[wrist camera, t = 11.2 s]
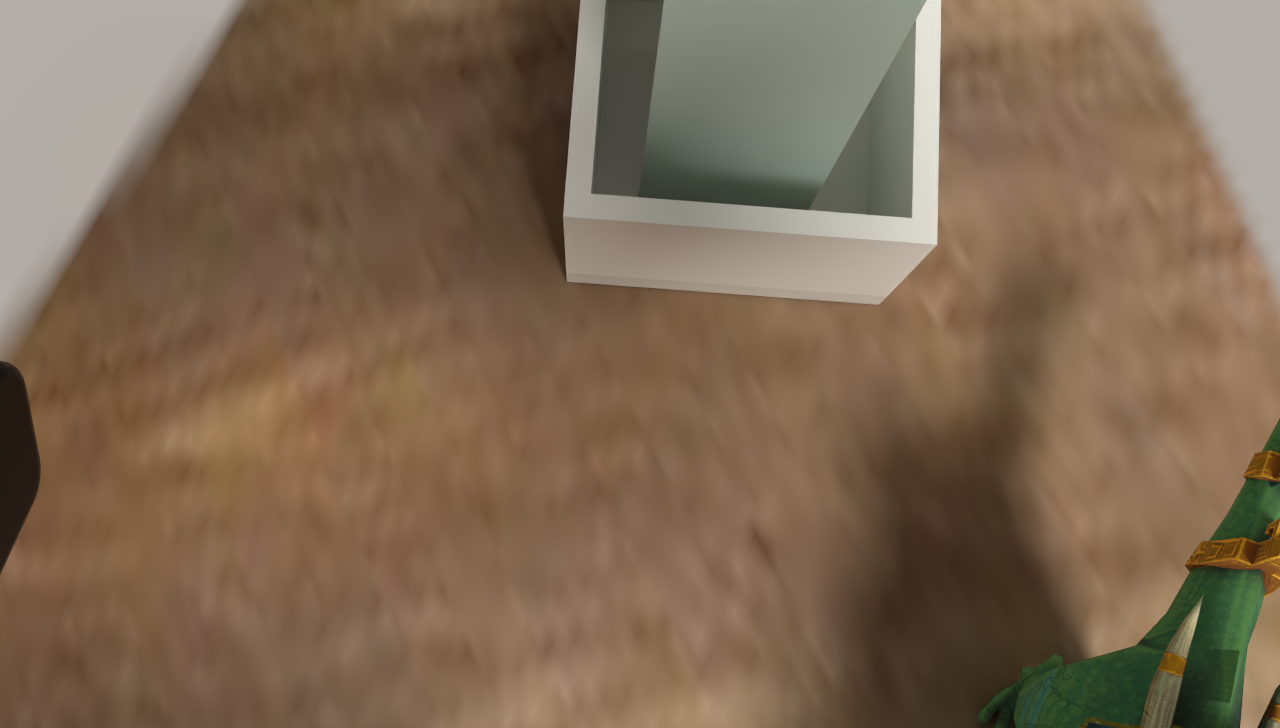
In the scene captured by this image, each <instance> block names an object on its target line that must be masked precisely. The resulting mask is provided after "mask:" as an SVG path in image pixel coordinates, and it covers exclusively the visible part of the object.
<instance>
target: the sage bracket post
mask: <svg viewBox="0 0 1280 728" xmlns="http://www.w3.org/2000/svg"><path fill="white" fill-rule="evenodd" d="M926 1H927V0H664V5H663V12H662V20H661V28H660V35H659V43H658V51H657V58H656V66H655V74H654V82H653V89H652V97H651V105H650V112H649V120H648V128H647V135H646V143H645V151H644V158H643V166H642V174H641V181H640V189H639V197H642V198H655V199H668V200H681V201H694V202H707V203H720V204H734V205H747V206H760V207H773V208H786V209H799V210H809V209H810V207H811V205H812V203H813V201H814V200H815V198H816V196H817V194H818V193H819V191H820V189H821V187H822V186H823V184H824V182H825V180H826V178H827V177H828V175H829V173H830V171H831V170H832V168H833V166H834V164H835V162H836V161H837V159H838V157H839V155H840V154H841V152H842V150H843V148H844V146H845V145H846V143H847V141H848V139H849V138H850V136H851V134H852V132H853V130H854V129H855V127H856V125H857V123H858V122H859V120H860V118H861V116H862V114H863V113H864V111H865V109H866V107H867V106H868V104H869V102H870V100H871V98H872V97H873V95H874V93H875V91H876V90H877V88H878V86H879V84H880V82H881V81H882V79H883V77H884V75H885V74H886V72H887V70H888V68H889V67H890V65H891V63H892V61H893V59H894V58H895V56H896V54H897V52H898V51H899V49H900V47H901V45H902V43H903V42H904V40H905V38H906V36H907V35H908V33H909V31H910V29H911V27H912V26H913V24H914V22H915V20H916V19H917V17H918V15H919V13H920V11H921V10H922V8H923V6H924V4H925V3H926Z"/></svg>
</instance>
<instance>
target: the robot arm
mask: <svg viewBox="0 0 1280 728" xmlns="http://www.w3.org/2000/svg"><path fill="white" fill-rule="evenodd" d="M40 468H41V466H40V458H39V452H38V447H37V442H36V437H35V431H34V426H33V421H32V415H31V410H30V405H29V400H28V394H27V389H26V385H25V382H24V378H23V376H22V375H21V373H20V371H19V370H18V369H17V368H16V367H14V366H13V365H11V364H10V363H7V362H3V361H0V574H1V572H2V570H3V568H4V565H5V563H6V561H7V559H8V557H9V555H10V552H11V550H12V548H13V546H14V544H15V542H16V539H17V537H18V535H19V533H20V531H21V529H22V526H23V524H24V522H25V520H26V518H27V516H28V513H29V511H30V509H31V507H32V505H33V502H34V500H35V497H36V494H37V491H38V487H39V482H40Z"/></svg>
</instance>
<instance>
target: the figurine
mask: <svg viewBox="0 0 1280 728" xmlns="http://www.w3.org/2000/svg"><path fill="white" fill-rule="evenodd" d="M1243 477H1244V478H1245V479H1246V482H1245V484H1244V485H1243V487H1242V489H1241V491H1240V493H1239V494H1238V496H1237V498H1236V500H1235V501H1234V503H1233V505H1232V507H1231V509H1230V510H1229V512H1228V514H1227V515H1226V517H1225V518H1224V520H1223V521H1222V523H1221V524H1220V526H1219V527H1218V528H1217V530H1216V531H1215V533H1214V534H1213V536H1212V537H1211V539H1210V540H1209V541H1204V542H1201V543H1200V545H1199V546H1198V547H1197V549H1196V550H1195V552H1194V553H1193V554H1192V556H1191V557H1190V558H1189V560H1188V561H1187V562H1186V564H1185V566H1186V567H1187V569H1188V570H1189V572H1190V573H1189V575H1188V577H1187V578H1186V580H1185V582H1184V583H1183V585H1182V587H1181V589H1180V590H1179V592H1178V594H1177V596H1176V597H1175V599H1174V601H1173V603H1172V604H1171V606H1170V608H1169V610H1168V611H1167V613H1166V614H1165V615H1164V616H1163V617H1162V618H1161V619H1160V620H1159V621H1158V623H1157V624H1156V625H1155V626H1154V627H1153V628H1152V629H1151V630H1150V631H1149V632H1148V633H1147V634H1146V635H1145V636H1144V637H1143V638H1142V640H1141V641H1140V642H1139V643H1138V644H1137V645H1136V646H1133V647H1129V648H1126V649H1122V650H1119V651H1115V652H1112V653H1108V654H1105V655H1101V656H1097V657H1094V658H1090V659H1086V660H1082V661H1079V662H1075V663H1071V664H1067V665H1064V663H1063V657H1060V656H1058V655H1055V654H1054V655H1053V656H1051V657H1050V658H1049V659H1047V660H1046V661H1044V662H1043V663H1041V664H1039V665H1038V666H1036V667H1034V668H1033V669H1032V667H1031V666H1029V667H1022V668H1021V674H1020V677H1021V679H1020V680H1019V681H1017V682H1016V683H1014V684H1013V685H1011V686H1010V687H1009V688H1006V689H1003V690H1001V691H1000V692H998V693H997V694H996V695H995V696H993V697H992V698H991V700H990V701H989V702H988V704H987V705H986V706H985V707H984V708H982V709H981V711H980V712H979V714H978V716H977V718H978V722H979V724H983V723H987V722H989V721H990V719H991V717H992V715H993V714H994V713H995V711H997V710H1000V711H999V715H998V716H997V718H996V720H995V721H994V724H993V728H1008V725H1009V722H1010V721H1011V720H1012V719H1014V726H1013V728H1240V721H1241V708H1242V696H1243V684H1244V671H1245V663H1246V655H1247V647H1248V643H1249V641H1250V638H1251V635H1252V632H1253V630H1254V627H1255V624H1256V621H1257V618H1258V615H1259V612H1260V609H1261V606H1262V602H1263V598H1264V597H1265V596H1267V595H1269V594H1271V593H1273V592H1274V591H1276V590H1277V589H1278V588H1279V587H1280V419H1279V421H1278V423H1277V425H1276V426H1275V428H1274V430H1273V432H1272V434H1271V436H1270V438H1269V439H1268V441H1267V443H1266V445H1265V447H1264V449H1263V451H1262V452H1260V453H1255V455H1254V457H1253V459H1252V461H1251V462H1250V464H1249V466H1248V468H1247V470H1246V472H1245V474H1244V476H1243ZM1258 728H1280V685H1279V686H1278V687H1277V688H1276V690H1275V692H1274V694H1273V696H1272V698H1271V701H1270V703H1269V705H1268V707H1267V709H1266V711H1265V713H1264V715H1263V717H1262V719H1261V721H1260V724H1259V726H1258Z"/></svg>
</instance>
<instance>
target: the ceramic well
mask: <svg viewBox="0 0 1280 728" xmlns="http://www.w3.org/2000/svg"><path fill="white" fill-rule="evenodd" d="M663 5H664V0H580V12H579V25H578V37H577V50H576V62H575V74H574V87H573V99H572V112H571V124H570V137H569V149H568V161H567V174H566V186H565V199H564V211H563V224H564V242H565V259H566V277H567V282H578V283H591V284H605V285H619V286H632V287H646V288H659V289H673V290H686V291H700V292H713V293H727V294H741V295H754V296H768V297H781V298H795V299H808V300H822V301H835V302H849V303H862V304H876V305H879V304H880V303H881V302H882V301H883V300H884V299H885V298H886V297H887V296H888V295H889V294H890V293H891V292H892V291H893V290H894V289H895V288H896V286H897V285H898V284H899V283H900V282H901V281H902V280H903V279H904V278H905V277H906V276H907V275H908V274H909V273H910V272H911V271H912V270H913V269H914V268H915V267H916V266H917V265H918V264H919V263H920V262H921V261H922V260H923V259H924V258H925V257H926V256H927V255H928V254H929V253H930V251H931V250H932V249H933V248H934V247H935V246H936V245H937V221H938V158H939V95H940V31H941V0H927V1H926V3H925V4H924V6H923V8H922V10H921V11H920V13H919V15H918V17H917V19H916V20H915V22H914V24H913V26H912V27H911V29H910V31H909V33H908V35H907V36H906V38H905V40H904V42H903V43H902V45H901V47H900V49H899V51H898V52H897V54H896V56H895V58H894V59H893V61H892V63H891V65H890V67H889V68H888V70H887V72H886V74H885V75H884V77H883V79H882V81H881V82H880V84H879V86H878V88H877V90H876V91H875V93H874V95H873V97H872V98H871V100H870V102H869V104H868V106H867V107H866V109H865V111H864V113H863V114H862V116H861V118H860V120H859V122H858V123H857V125H856V127H855V129H854V130H853V132H852V134H851V136H850V138H849V139H848V141H847V143H846V145H845V146H844V148H843V150H842V152H841V154H840V155H839V157H838V159H837V161H836V162H835V164H834V166H833V168H832V170H831V171H830V173H829V175H828V177H827V178H826V180H825V182H824V184H823V186H822V187H821V189H820V191H819V193H818V194H817V196H816V198H815V200H814V201H813V203H812V205H811V207H810V209H809V210H799V209H786V208H773V207H760V206H747V205H734V204H720V203H707V202H694V201H681V200H668V199H655V198H642V197H639V189H640V181H641V174H642V166H643V158H644V151H645V143H646V135H647V128H648V120H649V112H650V105H651V97H652V89H653V82H654V74H655V66H656V58H657V51H658V43H659V35H660V28H661V20H662V12H663Z"/></svg>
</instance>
